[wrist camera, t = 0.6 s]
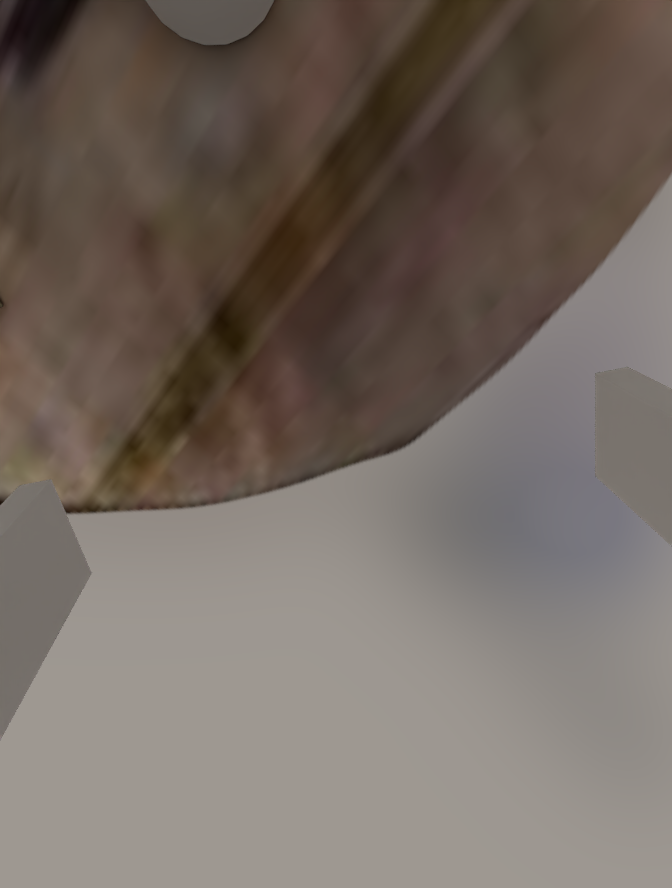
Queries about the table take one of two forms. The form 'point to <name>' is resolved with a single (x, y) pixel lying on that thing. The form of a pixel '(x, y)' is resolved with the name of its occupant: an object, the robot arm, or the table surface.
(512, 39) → the table surface
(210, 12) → the can
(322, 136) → the table surface
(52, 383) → the table surface
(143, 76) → the table surface
